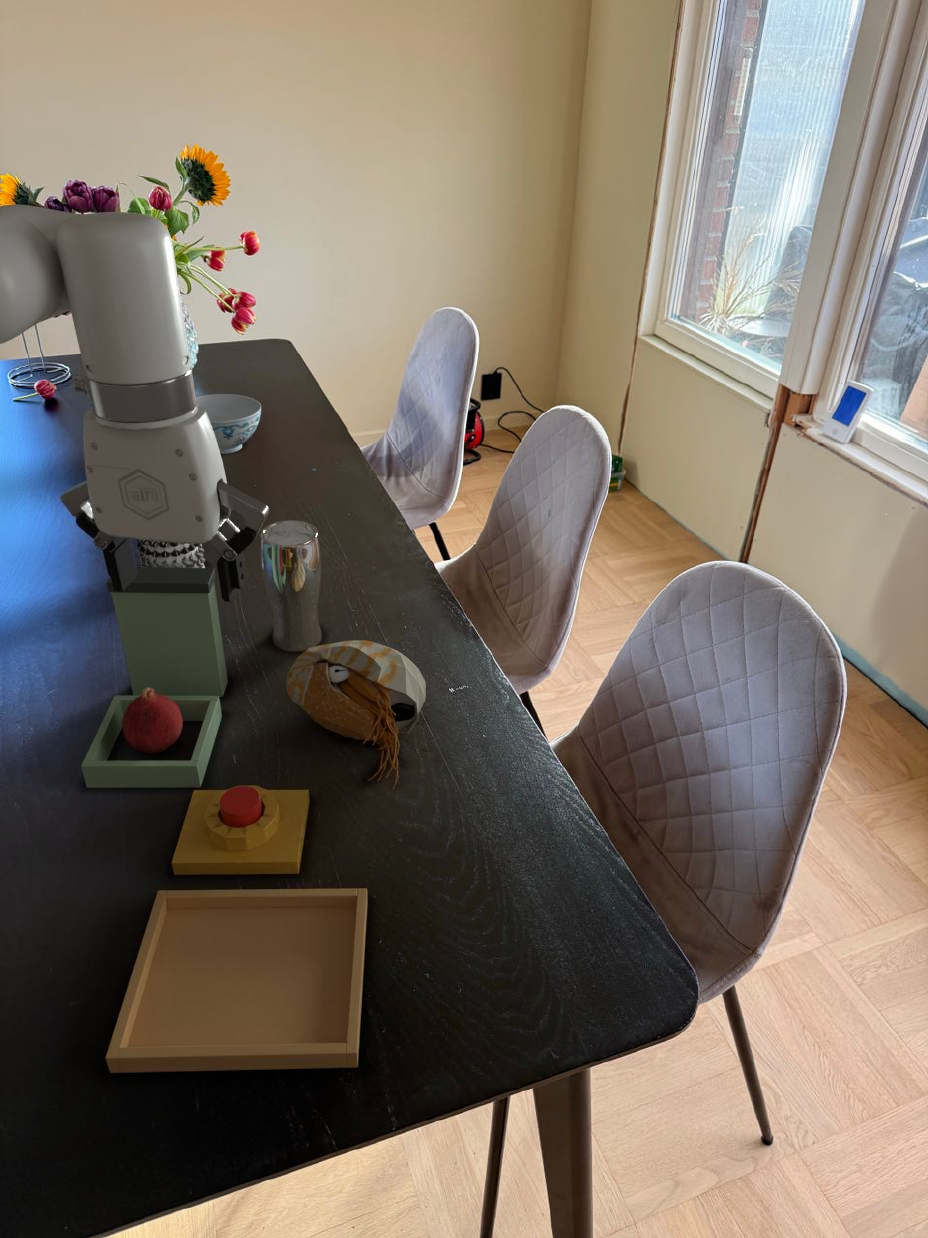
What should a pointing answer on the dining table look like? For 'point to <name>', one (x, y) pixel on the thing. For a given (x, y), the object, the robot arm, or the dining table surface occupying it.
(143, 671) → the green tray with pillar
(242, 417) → the chinaware
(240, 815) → the button
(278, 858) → the button panel
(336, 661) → the nautilus
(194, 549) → the decorative candle
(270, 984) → the oak tray
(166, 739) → the pomegranate
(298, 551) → the beer glass
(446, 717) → the dining table surface
